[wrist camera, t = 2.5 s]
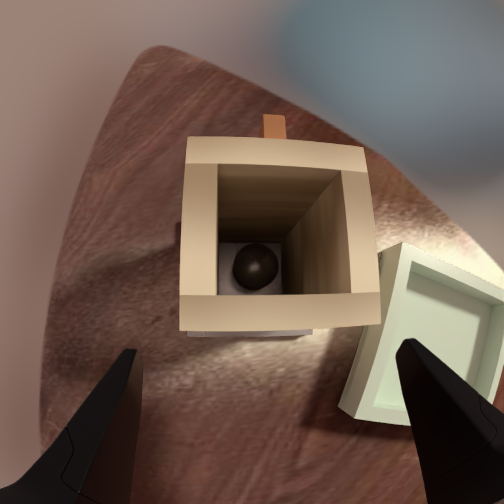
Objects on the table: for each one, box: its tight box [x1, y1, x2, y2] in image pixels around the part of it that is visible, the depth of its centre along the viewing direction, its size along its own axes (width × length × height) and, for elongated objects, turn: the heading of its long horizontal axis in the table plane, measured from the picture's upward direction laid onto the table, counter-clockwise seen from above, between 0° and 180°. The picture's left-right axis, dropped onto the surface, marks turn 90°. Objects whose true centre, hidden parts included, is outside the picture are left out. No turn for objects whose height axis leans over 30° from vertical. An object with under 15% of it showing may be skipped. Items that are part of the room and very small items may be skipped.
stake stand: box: [187, 243, 312, 337], centre depth 19 cm, size 8×8×4 cm
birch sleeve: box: [179, 114, 381, 331], centre depth 15 cm, size 8×6×11 cm
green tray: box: [338, 242, 504, 426], centre depth 20 cm, size 12×14×3 cm
